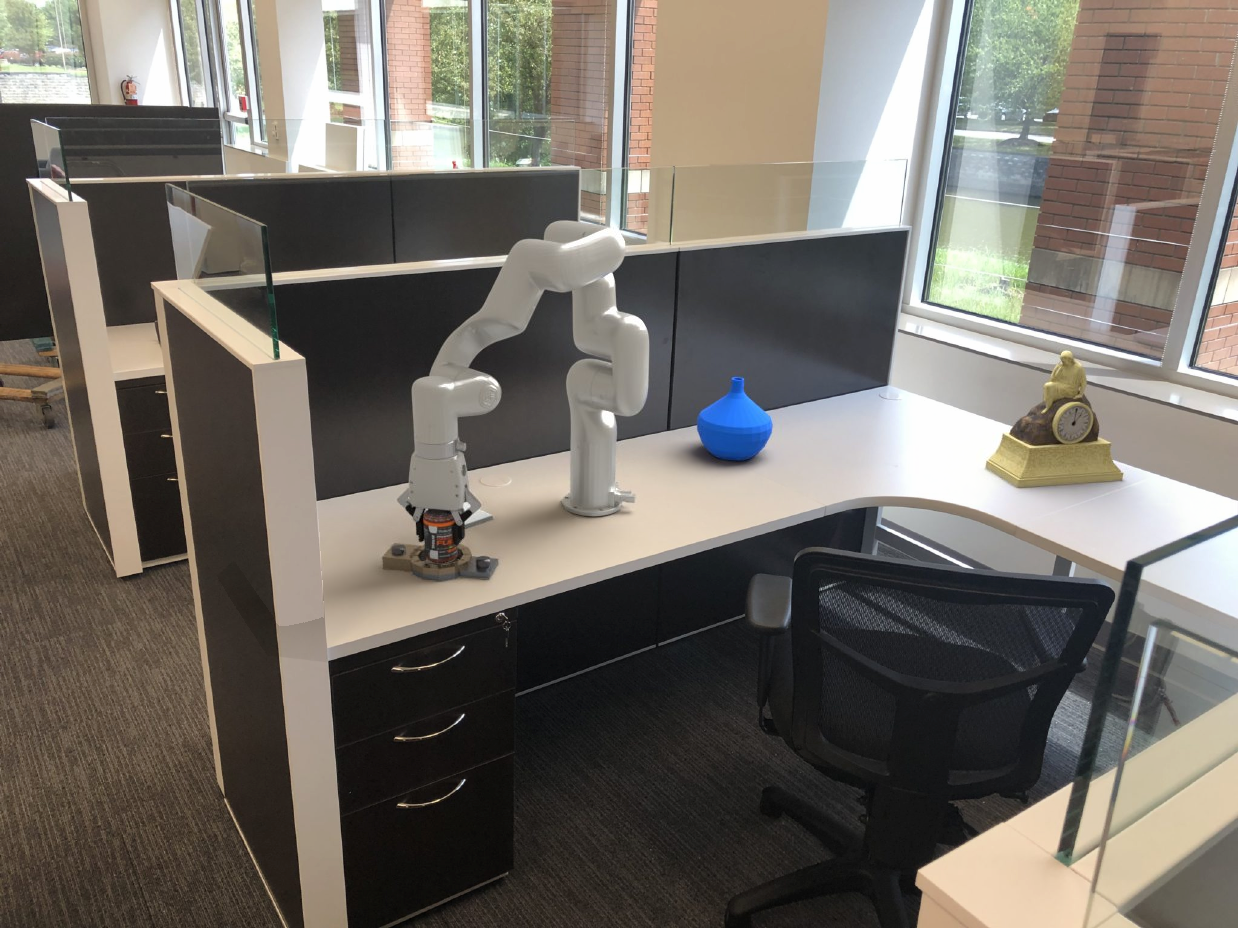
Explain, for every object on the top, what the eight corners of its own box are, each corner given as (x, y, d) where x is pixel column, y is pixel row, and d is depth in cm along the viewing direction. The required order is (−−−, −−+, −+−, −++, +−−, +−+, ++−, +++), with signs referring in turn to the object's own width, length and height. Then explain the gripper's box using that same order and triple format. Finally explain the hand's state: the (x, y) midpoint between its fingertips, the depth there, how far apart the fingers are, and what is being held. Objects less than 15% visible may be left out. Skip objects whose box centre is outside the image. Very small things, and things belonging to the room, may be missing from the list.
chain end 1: (478, 556, 182) (478, 541, 181) (460, 583, 172) (460, 568, 171) (399, 548, 184) (398, 534, 183) (377, 574, 174) (376, 559, 173)
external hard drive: (460, 533, 193) (424, 514, 201) (493, 522, 198) (457, 503, 206) (460, 525, 192) (424, 507, 200) (493, 514, 197) (456, 496, 206)
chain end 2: (502, 558, 181) (501, 546, 180) (485, 585, 171) (485, 573, 170) (422, 550, 183) (421, 539, 182) (401, 577, 173) (400, 565, 172)
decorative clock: (1017, 488, 223) (1041, 361, 212) (985, 468, 234) (1006, 347, 224) (1121, 480, 229) (1150, 357, 218) (1085, 461, 241) (1110, 343, 230)
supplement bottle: (438, 568, 173) (436, 510, 169) (418, 557, 177) (415, 500, 173) (464, 557, 177) (462, 500, 173) (444, 547, 181) (441, 491, 177)
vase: (748, 438, 249) (753, 366, 243) (783, 462, 233) (790, 386, 227) (683, 445, 243) (687, 371, 236) (715, 470, 227) (720, 392, 220)
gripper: (490, 443, 172) (492, 536, 178) (397, 436, 174) (402, 527, 180) (478, 458, 165) (481, 553, 171) (381, 450, 167) (387, 545, 173)
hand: (440, 539), depth 176 cm, fingers closed on supplement bottle, 5 cm apart
